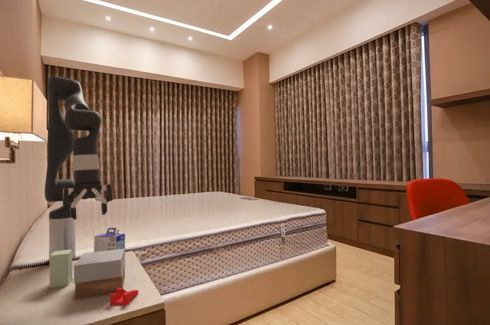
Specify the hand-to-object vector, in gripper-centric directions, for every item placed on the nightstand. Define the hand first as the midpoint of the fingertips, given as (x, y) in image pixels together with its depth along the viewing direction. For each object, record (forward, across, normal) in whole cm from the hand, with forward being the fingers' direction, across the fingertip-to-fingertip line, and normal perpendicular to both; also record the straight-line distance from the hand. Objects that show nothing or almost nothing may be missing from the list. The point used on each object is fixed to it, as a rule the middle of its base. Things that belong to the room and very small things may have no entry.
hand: (89, 216), depth 89 cm
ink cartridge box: (+21, -7, -8) cm, 24 cm away
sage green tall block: (+20, +8, -4) cm, 22 cm away
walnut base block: (+22, 0, +9) cm, 23 cm away
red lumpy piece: (+22, -3, +22) cm, 31 cm away
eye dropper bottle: (+21, -13, -17) cm, 30 cm away
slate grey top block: (+17, -1, +9) cm, 19 cm away
